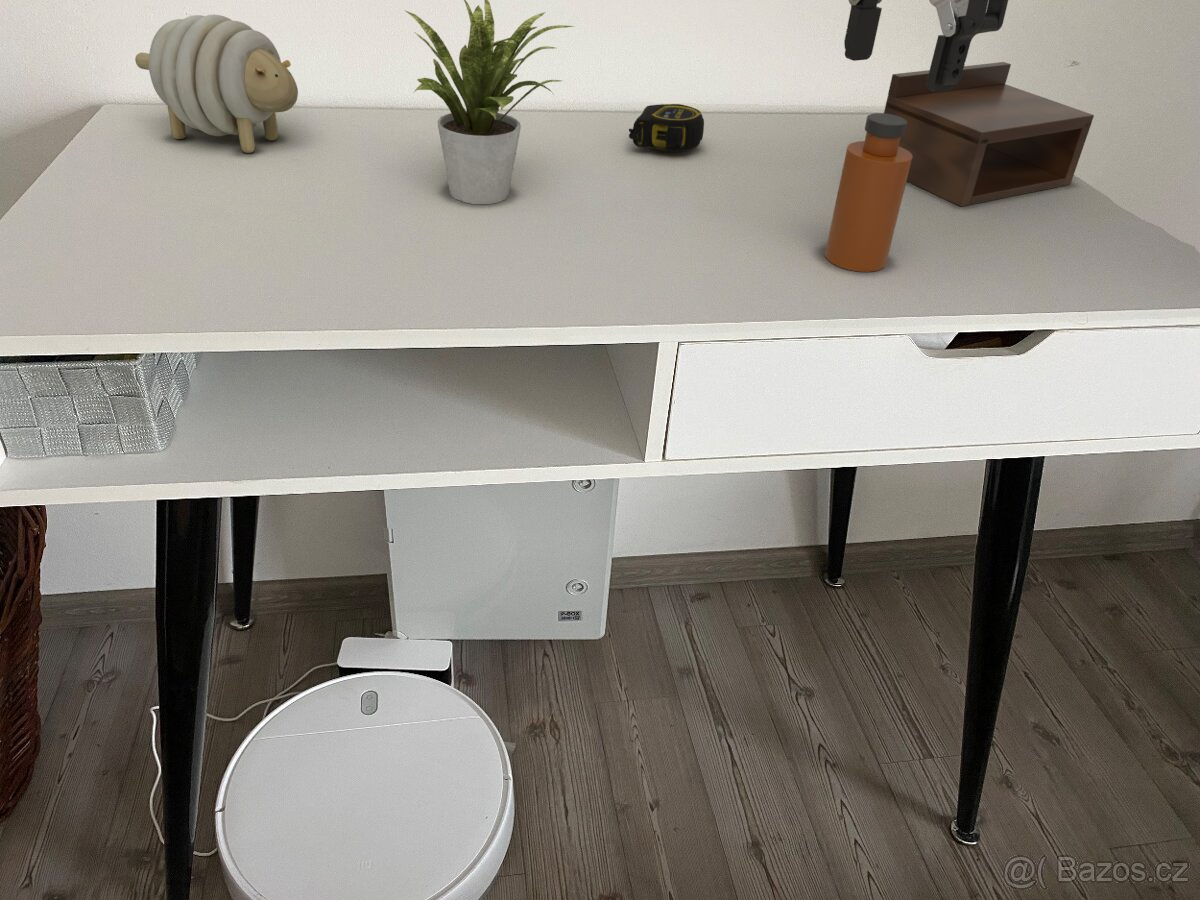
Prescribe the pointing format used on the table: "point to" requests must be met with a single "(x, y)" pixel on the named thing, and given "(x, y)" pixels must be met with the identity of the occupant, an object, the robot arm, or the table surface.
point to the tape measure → (668, 127)
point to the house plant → (480, 106)
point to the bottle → (869, 196)
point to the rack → (985, 136)
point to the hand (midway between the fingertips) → (896, 73)
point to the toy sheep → (219, 77)
